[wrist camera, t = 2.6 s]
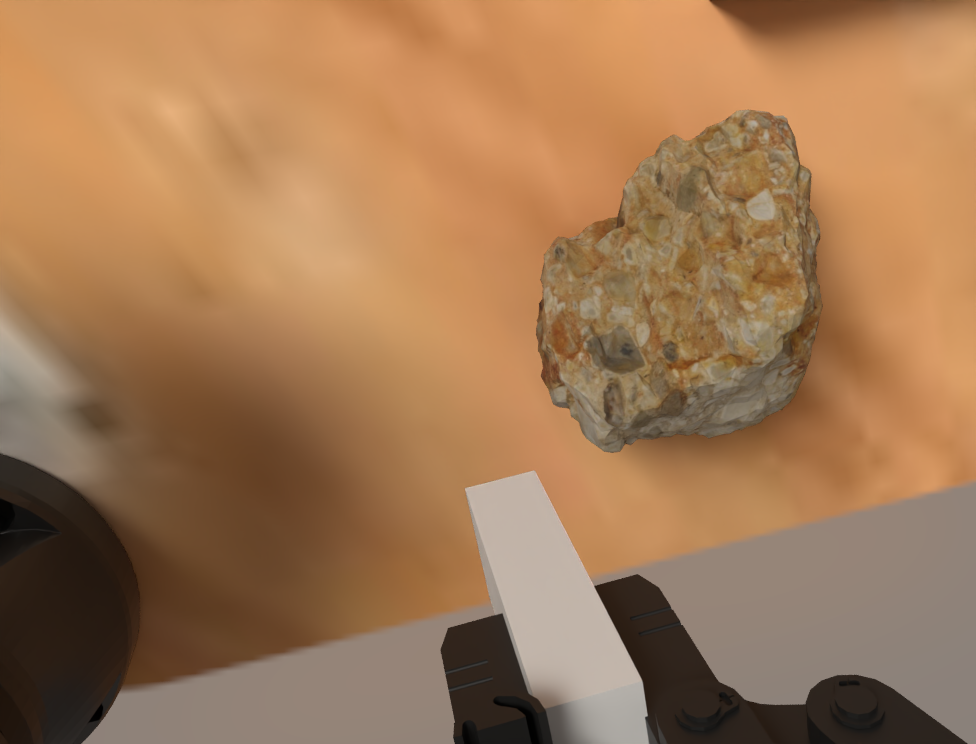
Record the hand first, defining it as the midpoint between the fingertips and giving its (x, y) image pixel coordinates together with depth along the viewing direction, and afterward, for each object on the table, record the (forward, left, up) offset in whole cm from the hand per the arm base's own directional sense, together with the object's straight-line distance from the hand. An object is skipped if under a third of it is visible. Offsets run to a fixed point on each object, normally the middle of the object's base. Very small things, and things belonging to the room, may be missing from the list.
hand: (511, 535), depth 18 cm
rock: (+9, 0, -18) cm, 21 cm away
